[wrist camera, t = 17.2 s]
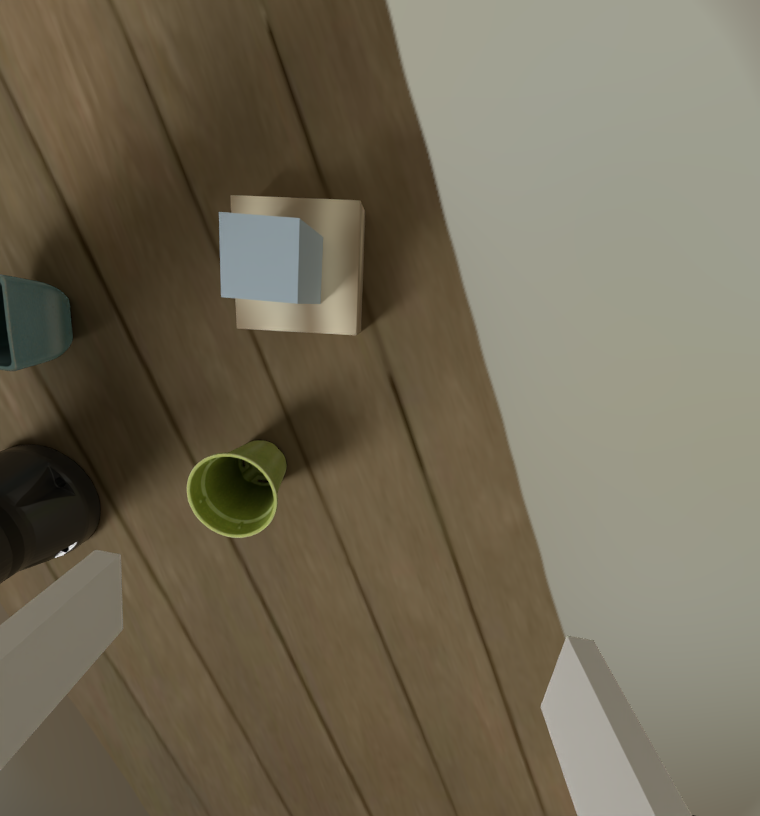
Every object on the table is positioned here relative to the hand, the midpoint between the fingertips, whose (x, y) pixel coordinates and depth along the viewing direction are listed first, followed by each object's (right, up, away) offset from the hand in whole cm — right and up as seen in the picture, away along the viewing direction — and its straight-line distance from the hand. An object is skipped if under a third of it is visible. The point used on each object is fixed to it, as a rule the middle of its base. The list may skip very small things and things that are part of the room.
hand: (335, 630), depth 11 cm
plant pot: (-13, 0, +36) cm, 38 cm away
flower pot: (-36, +17, +32) cm, 52 cm away
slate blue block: (-7, +20, +25) cm, 33 cm away
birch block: (-6, +21, +30) cm, 37 cm away
